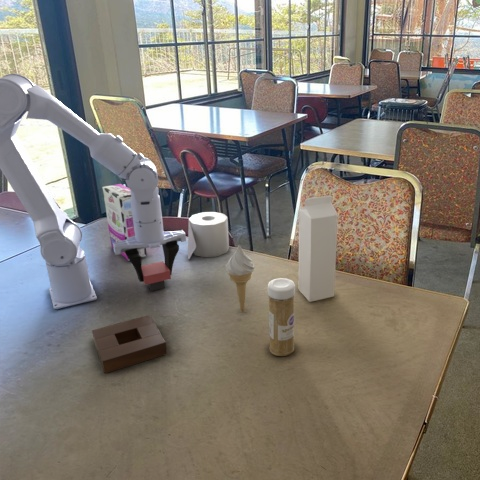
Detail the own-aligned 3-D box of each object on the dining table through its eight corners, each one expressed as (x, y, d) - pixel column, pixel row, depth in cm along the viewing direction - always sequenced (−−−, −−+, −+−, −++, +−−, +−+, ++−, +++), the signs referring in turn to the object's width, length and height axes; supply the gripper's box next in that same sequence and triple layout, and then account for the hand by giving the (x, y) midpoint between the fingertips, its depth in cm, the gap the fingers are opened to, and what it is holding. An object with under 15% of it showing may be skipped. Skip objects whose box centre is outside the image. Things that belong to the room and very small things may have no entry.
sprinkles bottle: (290, 359, 83) (290, 291, 78) (265, 354, 84) (264, 288, 79) (297, 343, 87) (298, 278, 82) (273, 340, 88) (272, 275, 83)
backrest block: (93, 341, 86) (91, 330, 85) (151, 325, 92) (150, 314, 91) (104, 373, 79) (102, 361, 78) (167, 354, 84) (165, 342, 83)
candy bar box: (148, 256, 119) (140, 193, 112) (128, 262, 116) (119, 197, 109) (129, 242, 126) (121, 182, 120) (110, 247, 123) (100, 186, 117)
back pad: (140, 284, 106) (138, 266, 104) (165, 278, 109) (163, 261, 107) (146, 294, 102) (144, 276, 100) (172, 288, 105) (170, 270, 103)
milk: (298, 289, 106) (298, 194, 97) (322, 284, 108) (324, 190, 100) (309, 302, 101) (310, 203, 92) (335, 296, 103) (338, 199, 95)
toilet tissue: (182, 262, 116) (178, 230, 113) (198, 241, 128) (196, 210, 125) (218, 265, 116) (216, 232, 112) (232, 242, 128) (230, 212, 124)
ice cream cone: (250, 321, 94) (248, 251, 88) (223, 317, 95) (219, 248, 89) (259, 306, 99) (257, 239, 93) (234, 303, 100) (230, 237, 94)
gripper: (114, 231, 92) (124, 292, 98) (188, 218, 100) (193, 276, 105) (107, 219, 98) (116, 278, 103) (177, 208, 105) (183, 263, 110)
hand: (154, 276), depth 104 cm, fingers closed on back pad, 5 cm apart
